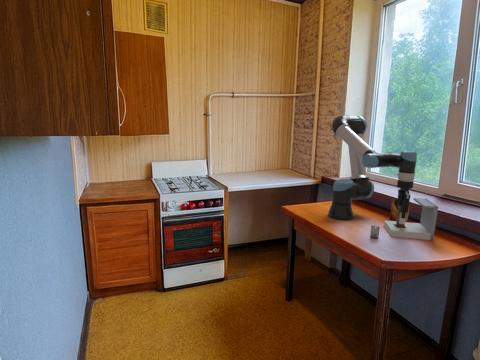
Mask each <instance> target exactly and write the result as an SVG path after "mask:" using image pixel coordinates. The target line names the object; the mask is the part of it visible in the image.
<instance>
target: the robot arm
mask: <svg viewBox="0 0 480 360" xmlns="http://www.w3.org/2000/svg"><path fill="white" fill-rule="evenodd" d="M367 123H368V122H367V120H366V119H365V118H364V117H363V116H361V115H357V114H356V115H339V116H337V117H335V118H334V119H333V120H332V122H331V126H330V127H331V130H332V132H333V134H334V135H335V136H336V137H337V138H340V139H341V140H343V142H344V143H345V144H346V145H347V146H348V154H349V155H348V156H349V162H350V163H349V164H350V172H351V176H350V178H343V179H341V178H340V179H337V180H335V181H334V183H333V186H332V197H331V198H332V199H331V205H330V207H329V210H328V212H327V213H328V214H327V215H328V217H330V218H331V219H334V220H339V221H350V220H353V219H354V212H353V211H354V210H353V208H352V202H353V200H365V199H369V198H371V197H372V195H373V194H374V192H375V185H374V183H373V182H372V181H371V180H370V177H369V176H368V175H367V173H366V168H368V169H369V168H370V169H374V168H398V173H397V174H396V175H397V179H398V180H397V181H396V183H397V184H396V186H397V187H398V188H400V189H397V193H398V194H397V199H396V200H397V207H398V206H401V211H400V218H399V224H405V218H406V213H407V212H408V208H409V209H410V206H409V202H410V200H411V194H410V190H411V189H413V188H414V184H415V183H414V180H415V175H416V166H417V162H418V161H417V160H418V159H417V157H418V155H417V154H418V153H417V152H416V151H413V150H412V151H411V150H402V151H401V152H400V153H395V152H387V151H386V152H384V153H381V152H380V153H378V152H376V150H375V149H373V148H372V147H371V146H370V145H369V144H368V143H366V142H365V140H363V137H364V135H365V134H364V133H365V132H367V128H368V124H367ZM397 213H398V212H397Z"/></svg>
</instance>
